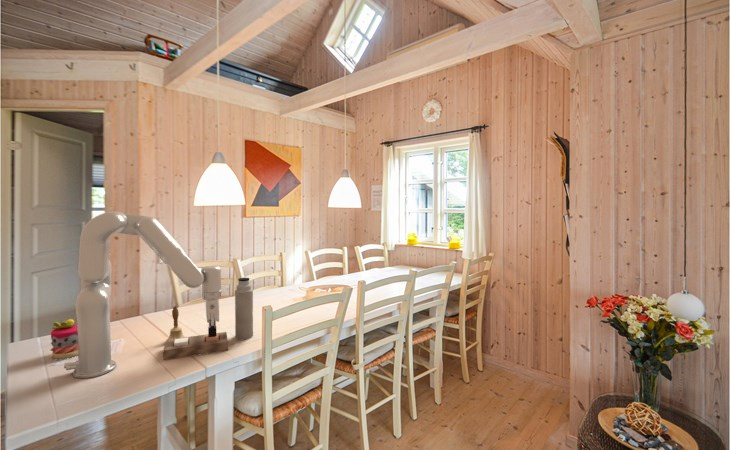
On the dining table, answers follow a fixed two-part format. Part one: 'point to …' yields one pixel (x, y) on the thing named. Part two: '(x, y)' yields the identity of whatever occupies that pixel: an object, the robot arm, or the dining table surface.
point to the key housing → (195, 346)
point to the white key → (181, 341)
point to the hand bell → (175, 326)
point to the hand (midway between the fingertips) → (212, 336)
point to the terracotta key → (212, 338)
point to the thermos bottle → (243, 310)
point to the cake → (64, 340)
